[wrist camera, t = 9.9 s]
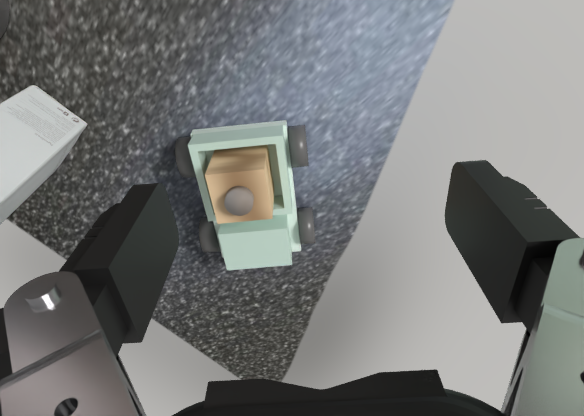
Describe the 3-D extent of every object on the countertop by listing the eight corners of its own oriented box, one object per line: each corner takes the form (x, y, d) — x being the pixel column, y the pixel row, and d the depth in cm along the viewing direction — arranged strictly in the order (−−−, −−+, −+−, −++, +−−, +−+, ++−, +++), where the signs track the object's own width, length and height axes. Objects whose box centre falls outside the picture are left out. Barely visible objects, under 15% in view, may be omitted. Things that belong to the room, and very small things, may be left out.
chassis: (212, 242, 46) (203, 275, 42) (180, 124, 38) (164, 148, 33) (314, 233, 46) (317, 266, 41) (303, 112, 38) (305, 134, 33)
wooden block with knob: (225, 192, 39) (215, 230, 34) (215, 147, 36) (202, 180, 31) (274, 188, 39) (272, 225, 33) (267, 142, 36) (263, 174, 31)
